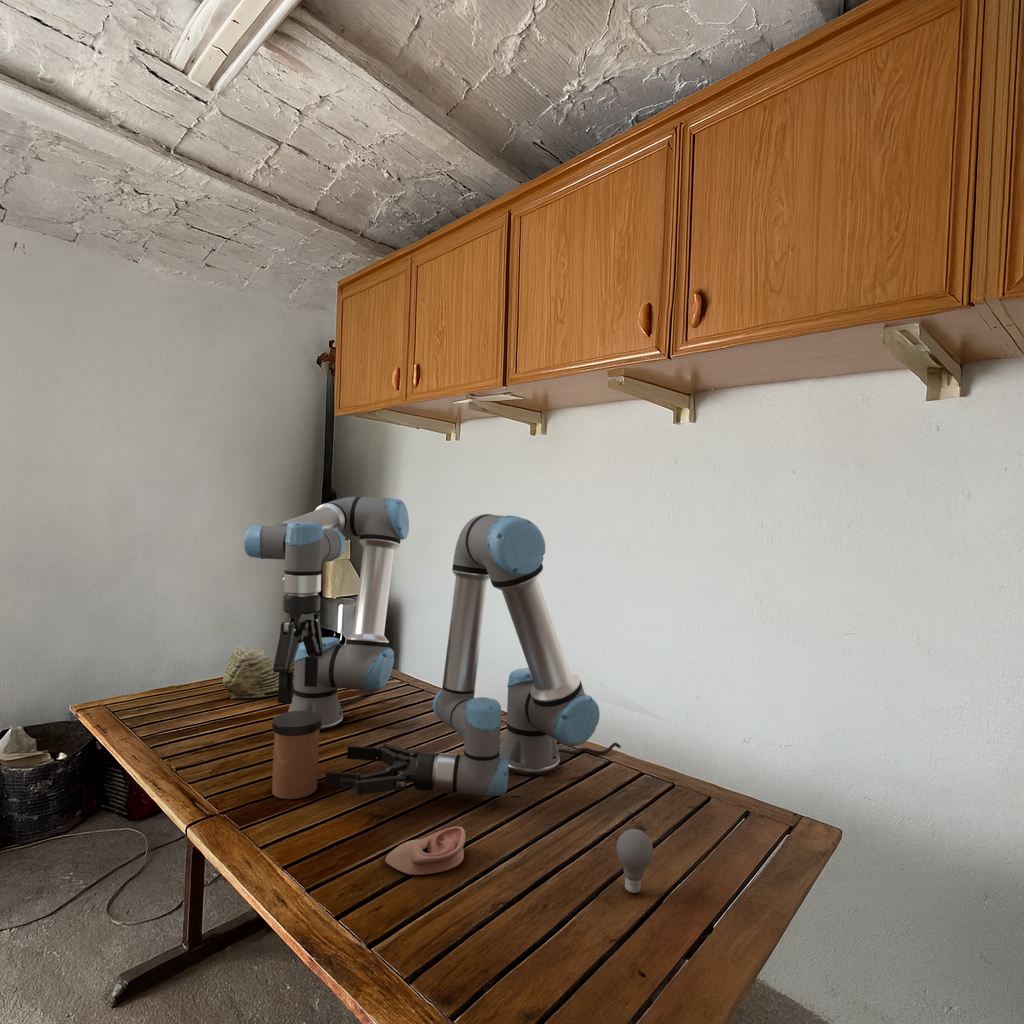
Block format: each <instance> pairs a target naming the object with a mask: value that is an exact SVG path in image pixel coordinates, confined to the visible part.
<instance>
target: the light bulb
mask: <svg viewBox="0 0 1024 1024" xmlns="http://www.w3.org/2000/svg"><path fill="white" fill-rule="evenodd" d="M615 849H616V854H617V857H618V859H619V861H620V863H621V865H622V867H623V873H624V874H623V875H624V876H625V878H624V888H625V890H627V891H628V892H630V893H634V894H635V893H639V892H640V891H641V889H642V887H641V886H642V879H643V877H644V875H645V871H646V868H647V867H648V866H649V864H650V863H651V861H652V859H653V855H654V847H653V843H652V841H651V838H649V836H648V835H647V834H646V833H645V832H643V831H642V830H641V829H636V828H629V829H627V830H625V831H623V832H622V833H621V834H620V835H619V837H618V839H617V841H616V847H615Z"/></svg>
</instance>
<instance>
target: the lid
mask: <svg viewBox="0 0 1024 1024" xmlns="http://www.w3.org/2000/svg"><path fill="white" fill-rule="evenodd" d="M321 726H322V716H321V715H320V714H319V713H316V712H312V711H291V712H288V711H286V712H281V713H279V714H278V715H275V716H274V717H273V719H272V725H271V727H272V728H271V729H272V731H273V733H274V732H275V733H277V734H281V735H288V736H296V735H304V734H309V733H312V732H315V731H317V730H319V729H320V728H321Z"/></svg>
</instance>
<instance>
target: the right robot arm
mask: <svg viewBox="0 0 1024 1024" xmlns="http://www.w3.org/2000/svg"><path fill="white" fill-rule="evenodd" d="M545 541H546V540H545V537H544V535H543V533H542V531H541V529H539V527H538V526H537V525H536V524H535V523H534V522H533V521H530V520H529V519H527V518H523V517H520V516H517V515H497V514H492V513H484V514H479V515H477V516H475V517H473V518H471V519H469V521H467V522H466V524H465V525H464V526H463V528H462V529H461V531H460V533H459V535H458V538H457V541H456V545H455V548H454V554H453V561H452V568H451V571H452V573H453V574H454V576H455V580H454V581H455V582H454V587H453V588H454V589H453V597H452V606H451V612H450V613H451V614H450V621H449V628H448V629H449V630H448V636H447V637H448V639H447V647H446V654H445V664H444V671H443V677H442V679H443V680H442V687H441V689H440V690H439V691H438V692H437V693H436V695H435V696H434V698H433V701H432V711H433V713H434V714H435V716H436V717H437V719H439V721H440V722H442V724H445V725H446V726H448V727H450V728H451V729H452V730H453V731H455V733H457V734H458V735H460V736H461V737H462V738H463V739H464V740H463V754H458V753H447V752H439V753H438V754H436V752H427V751H421V752H419V751H414V750H409V749H405V748H402V747H400V746H396V745H394V744H393V745H392V744H389V743H385V742H384V743H383V744H382V746H378V747H375V746H374V747H373V746H362V745H361V746H359V745H347V751H346V752H347V753H346V754H347V755H346V758H347V760H359V761H371V762H377V763H378V762H383V763H384V764H387V765H388V766H387V768H385V769H383V770H379V771H374V772H369V773H366V774H361V773H360V772H345V771H331V770H327V771H325V773H324V774H325V776H324V786H325V787H333V788H334V787H335V788H336V787H337V788H345V789H346V788H347V789H355V794H356V795H357V796H362V795H370V794H377V793H383V792H391V791H407V783H412V784H413V787H414V789H415V790H416V791H424V792H425V791H426V792H432V791H433V790H434V791H435V792H440V793H446V794H447V795H449V794H450V793H455V794H464V795H465V794H466V795H476V796H477V795H478V796H483V797H489V796H490V797H498V796H499V797H501V796H504V795H506V793H507V791H508V784H509V774H510V773H512V774H517V775H520V776H543V775H547V774H548V775H549V774H551V773H553V772H555V771H557V770H558V769H559V767H560V765H561V763H560V761H561V756H560V754H561V753H563V754H568V755H578V754H580V753H581V752H587V753H591V754H595V755H605V754H608V753H609V752H611V751H612V750H613V749H614V747H616V748H618V749H621V748H622V746H621V744H619V743H618V742H613V743H612V744H610V745H609V747H607V748H606V749H604V750H596V749H592V748H590V747H580V748H578V749H576V750H569V749H564V748H558V745H557V744H558V743H559V744H563V745H565V746H568V747H577V746H581V745H583V744H584V743H586V742H587V741H589V739H590V738H591V737H592V736H593V735H594V733H595V731H596V729H597V727H598V725H599V721H600V717H601V715H600V713H601V711H600V707H599V704H598V702H597V701H596V699H594V697H593V696H591V695H589V694H586V693H585V690H584V687H583V684H582V681H581V677H580V676H579V674H578V673H577V672H574V671H572V670H571V669H570V666H569V663H568V661H567V657H566V654H565V651H564V647H563V645H562V642H561V639H560V635H559V633H558V629H557V627H556V624H555V621H554V618H553V615H552V612H551V608H550V605H549V603H548V599H547V597H546V594H545V590H544V588H543V585H542V582H541V579H540V577H541V575H542V574H543V572H544V566H543V565H544V564H543V561H544V559H545V558H544V555H545V554H546V542H545ZM489 581H490V583H491V586H492V587H493V588H495V589H497V590H500V591H501V593H502V595H503V598H504V602H505V604H506V607H507V610H508V613H509V616H510V618H511V622H512V624H513V627H514V630H515V633H516V635H517V638H518V641H519V644H520V647H521V650H522V653H523V656H524V658H525V661H526V664H527V667H523V668H517V669H514V670H512V671H511V672H510V673H509V675H508V681H507V707H506V727H505V729H506V730H505V733H504V736H503V738H502V740H501V730H502V720H503V719H502V706H501V703H500V702H499V701H498V700H496V698H495V699H494V698H490V697H486V696H485V697H484V696H479V697H475V692H476V685H477V676H478V668H479V659H480V653H481V644H482V637H483V636H482V635H483V630H484V629H483V628H484V620H485V614H486V613H485V612H486V604H487V596H488V589H489ZM509 772H510V773H509Z"/></svg>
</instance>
